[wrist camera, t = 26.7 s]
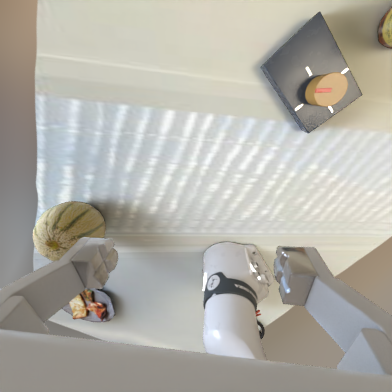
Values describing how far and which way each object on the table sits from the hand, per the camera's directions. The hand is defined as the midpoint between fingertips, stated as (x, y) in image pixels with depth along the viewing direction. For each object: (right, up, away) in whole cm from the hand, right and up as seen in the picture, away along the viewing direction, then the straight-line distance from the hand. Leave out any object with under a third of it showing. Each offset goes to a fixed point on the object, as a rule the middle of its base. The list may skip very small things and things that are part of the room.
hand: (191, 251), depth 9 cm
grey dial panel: (+19, +23, +23) cm, 38 cm away
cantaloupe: (-29, -2, +43) cm, 52 cm away
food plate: (-42, -37, +64) cm, 85 cm away
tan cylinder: (+20, +20, +21) cm, 35 cm away
